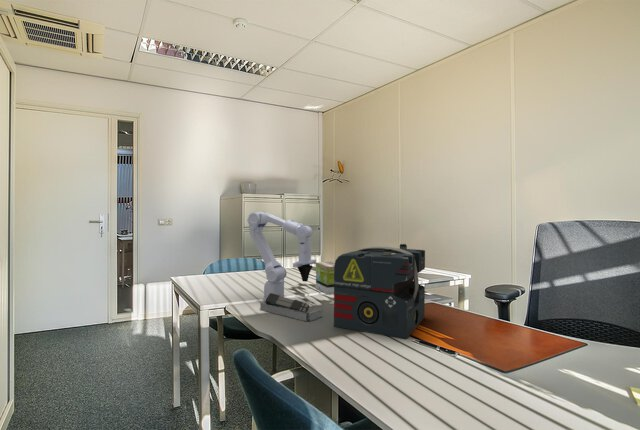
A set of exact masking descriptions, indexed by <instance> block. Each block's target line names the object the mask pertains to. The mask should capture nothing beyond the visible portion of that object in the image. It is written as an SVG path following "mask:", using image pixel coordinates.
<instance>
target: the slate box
mask: <svg viewBox="0 0 640 430" xmlns="http://www.w3.org/2000/svg"><path fill="white" fill-rule="evenodd" d="M259 307H260V308H259V309H260V311H264V312H266V313H267V312H268V313H272V314H275V315H279V316H283V317H287V318H291V319H295V320H297V321H302V322H312V321H314V320H317V319H319V318H322V317H323V309H322V308H317V309H315V310H312V311H308V312H307V313H306V312H302V311H298V310H294V309H289V308H285V307H281V306H277V305H272V304H268V303H266V301H265V300H263V301H260V306H259Z"/></svg>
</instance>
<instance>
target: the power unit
mask: <svg viewBox="0 0 640 430" xmlns="http://www.w3.org/2000/svg"><path fill="white" fill-rule="evenodd" d="M334 263H335V265H334V294H333V327H337V328H342V329H347V330H352V331H353V330H354V331H358V332H364V333H370V334H375V335H381V336H387V337H393V338H398V339H403V340H407V339H408V338H409V337H410V336H411V334H412V333H413V332H414V331H415V330H416V328H417V327H418V326H419V325H420V324H421V323H422V321H423V320H424V319H425V307H426V306H425V303H426V302H425V301H426V300H425V298H426V297H425V294H426V292H425V291H426V290H425V289H426V287H425V286H424V285H422V284H419V282H420V281H419V275H418V274H419V273H421V272H422V271H424V270H425V268H426V250H425V249H415V248H408V245H407V244H406V243H400V244H399V248H397V247H390V246H369V247H363V248H360V249H357V250H355V251H349V252H345V253H342V254H340V255H339V256H337V258H336V259H335V261H334Z"/></svg>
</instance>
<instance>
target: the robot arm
mask: <svg viewBox="0 0 640 430" xmlns="http://www.w3.org/2000/svg"><path fill="white" fill-rule="evenodd" d="M246 221H247V223H248V228H249V235H250V237H251V238H252V241H253V242H254V245H255V246H256V248H257V250H258V252H259V254H260V256H261V258H262V260H263V262H264V265H265V267H264V271H265V275H266V279H267V281H266V282H265V283H264V287H263V294H264V295H263V298H262V300H263V301H265V300H266V299H267V297H268V295H269V294H270V293H273V294H276V295H280V296H281V297H285V278H286V277H287V273H288V272H287V269H286V268H285V267H284V266H282V264H281V263H280V262H279V260H278V261H277V259H276V257H275V255H274V253H273V251H272V250H271V247H270V245H269V244H268V242H267V240H266V238H265V235H264V233H263V231H264V228H265V227H266V226H267V224H268V223H271V224H274V225H276V226H279V227H282V228H283V231H285V232H287V233H290V234H292V235H293V236H296V237H297V239H298V240H297V241H298V242H297V243H298V245H297V246H298V261H295V262H293V263H292V268H295V269H296V268H297V269H298V273H299V274H300V276H301V280H302V282H305V283H306V282H308V280H309V276H310V273H311V271H312V269H313V265H316V263H317V259H312V249H311V248H312V243H311V242H312V240H311V236H312V235H313V228H312V227H311V226H309V225H304V224H303V223H300V222H296V221H295V220H294V219H292V218H291V219H287V220H285V219H283V218H281V217H278V216H276V215H274V214H272V213H270V212H266V211H252V212H249V215H248V217H247V220H246Z"/></svg>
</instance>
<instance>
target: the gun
mask: <svg viewBox="0 0 640 430" xmlns="http://www.w3.org/2000/svg"><path fill="white" fill-rule="evenodd" d="M264 301H266V303H268V304H272V305H277V306H281V307H285V308H289V309H294V310H298V311H302V312H306V313H308V312H309V309H310V304H309V303H307V302H304V301H301V300H298V299H291V298H288V297H285V296H284V297H281V296H280V295H276V294H273V293H270V294H269V295H268V297H267V299H266V300H264Z"/></svg>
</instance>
